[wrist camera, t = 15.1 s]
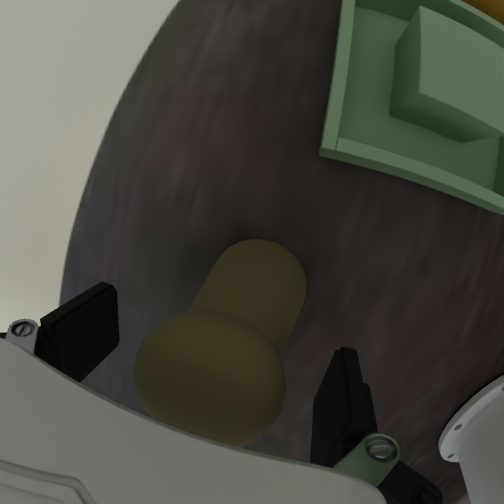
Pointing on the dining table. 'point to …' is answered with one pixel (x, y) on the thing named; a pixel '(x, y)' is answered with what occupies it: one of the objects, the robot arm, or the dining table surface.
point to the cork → (226, 347)
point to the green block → (448, 79)
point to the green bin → (396, 130)
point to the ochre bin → (489, 8)
